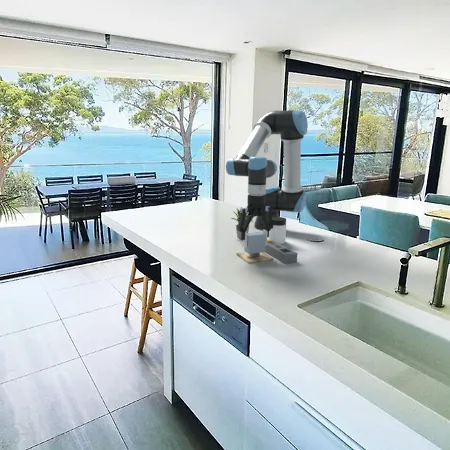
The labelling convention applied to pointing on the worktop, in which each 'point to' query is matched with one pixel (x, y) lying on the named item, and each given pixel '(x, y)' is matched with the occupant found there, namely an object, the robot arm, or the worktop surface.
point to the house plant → (238, 222)
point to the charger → (255, 243)
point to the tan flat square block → (250, 259)
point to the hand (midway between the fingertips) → (254, 245)
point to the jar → (278, 230)
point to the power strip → (280, 252)
